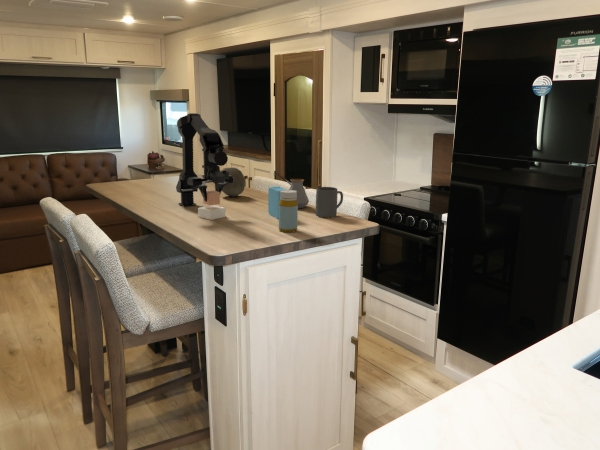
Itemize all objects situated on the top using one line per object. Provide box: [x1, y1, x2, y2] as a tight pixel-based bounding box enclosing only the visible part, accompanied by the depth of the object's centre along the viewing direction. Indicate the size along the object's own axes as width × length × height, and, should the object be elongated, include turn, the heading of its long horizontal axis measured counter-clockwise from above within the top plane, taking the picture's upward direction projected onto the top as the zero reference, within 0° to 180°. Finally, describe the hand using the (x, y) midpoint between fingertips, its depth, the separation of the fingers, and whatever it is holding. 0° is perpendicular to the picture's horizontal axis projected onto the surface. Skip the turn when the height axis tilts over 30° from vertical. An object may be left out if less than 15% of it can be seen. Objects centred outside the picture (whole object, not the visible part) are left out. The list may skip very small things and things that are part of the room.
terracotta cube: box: [202, 190, 221, 206], centre depth 196 cm, size 5×5×5 cm
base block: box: [197, 205, 227, 220], centre depth 197 cm, size 8×8×4 cm
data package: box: [267, 186, 287, 220], centre depth 200 cm, size 12×4×12 cm, turn 24°
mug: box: [315, 186, 344, 219], centre depth 204 cm, size 14×9×12 cm
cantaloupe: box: [220, 167, 246, 198], centre depth 241 cm, size 14×14×15 cm
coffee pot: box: [273, 171, 310, 209], centre depth 223 cm, size 21×12×15 cm, turn 45°
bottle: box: [278, 189, 299, 233], centre depth 176 cm, size 7×7×15 cm
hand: (211, 200), depth 196 cm, fingers closed on terracotta cube, 5 cm apart
